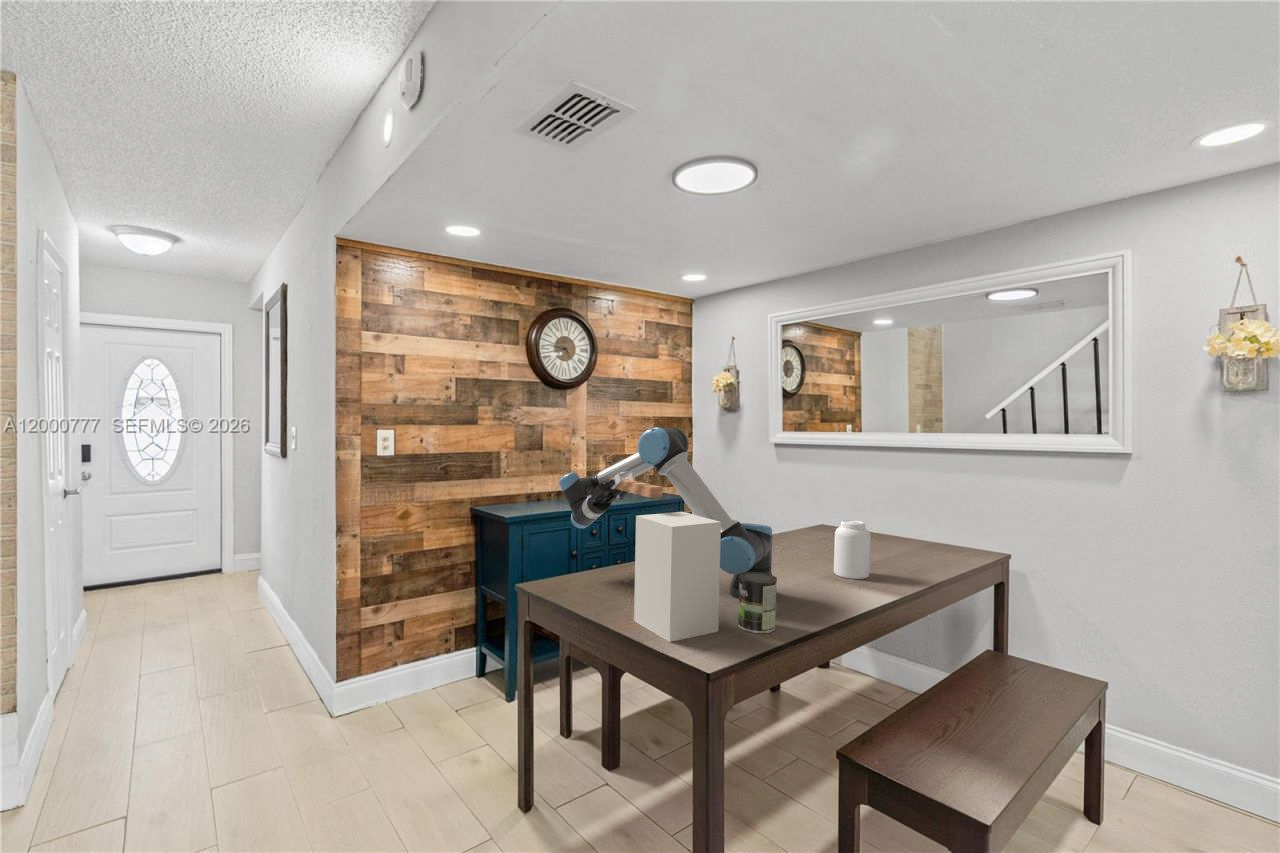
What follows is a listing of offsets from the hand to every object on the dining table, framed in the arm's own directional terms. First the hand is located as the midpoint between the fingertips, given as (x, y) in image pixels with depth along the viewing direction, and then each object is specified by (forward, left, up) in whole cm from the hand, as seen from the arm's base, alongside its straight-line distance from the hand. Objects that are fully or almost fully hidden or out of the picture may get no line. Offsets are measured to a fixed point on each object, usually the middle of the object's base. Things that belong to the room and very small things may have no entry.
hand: (626, 476), depth 195 cm
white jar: (-73, -52, -39) cm, 98 cm away
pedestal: (-20, +20, -39) cm, 48 cm away
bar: (-3, +3, -4) cm, 6 cm away
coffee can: (-42, +14, -39) cm, 59 cm away
